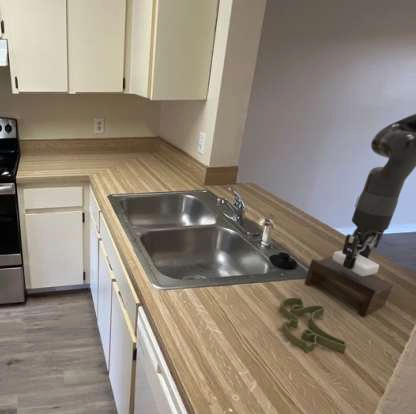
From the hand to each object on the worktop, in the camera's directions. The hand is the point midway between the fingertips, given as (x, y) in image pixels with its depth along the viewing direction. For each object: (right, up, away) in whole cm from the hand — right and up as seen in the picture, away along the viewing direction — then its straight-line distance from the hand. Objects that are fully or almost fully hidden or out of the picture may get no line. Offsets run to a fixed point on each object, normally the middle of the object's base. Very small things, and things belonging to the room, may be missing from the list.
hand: (354, 264), depth 91 cm
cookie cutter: (-18, -14, -8) cm, 25 cm away
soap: (0, -1, 0) cm, 1 cm away
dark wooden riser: (-1, -9, +4) cm, 10 cm away
